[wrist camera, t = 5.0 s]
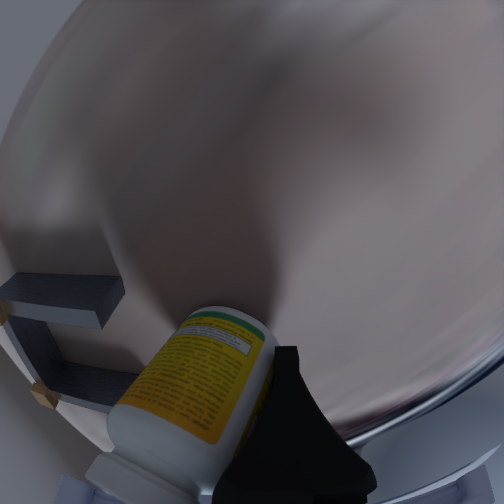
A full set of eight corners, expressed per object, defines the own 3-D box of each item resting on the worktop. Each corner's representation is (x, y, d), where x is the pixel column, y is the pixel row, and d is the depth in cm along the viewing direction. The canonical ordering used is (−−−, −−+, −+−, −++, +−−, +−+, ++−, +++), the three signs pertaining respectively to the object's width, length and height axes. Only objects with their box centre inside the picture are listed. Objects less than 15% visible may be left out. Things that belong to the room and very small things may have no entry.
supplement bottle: (302, 369, 13) (240, 551, 5) (223, 384, 16) (148, 517, 7) (245, 285, 12) (108, 492, 4) (167, 317, 15) (51, 451, 6)
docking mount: (157, 388, 17) (143, 433, 13) (59, 369, 17) (40, 403, 13) (119, 271, 13) (84, 316, 10) (12, 268, 13) (-23, 299, 10)
